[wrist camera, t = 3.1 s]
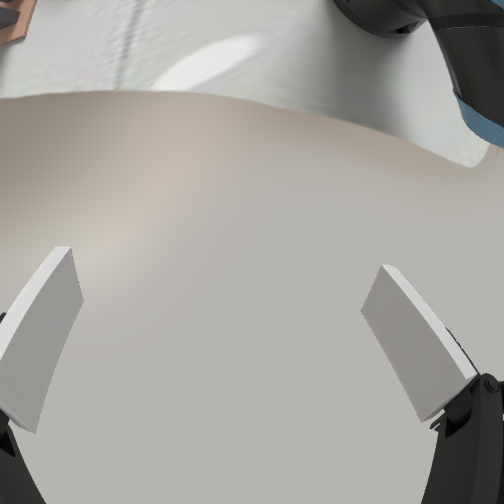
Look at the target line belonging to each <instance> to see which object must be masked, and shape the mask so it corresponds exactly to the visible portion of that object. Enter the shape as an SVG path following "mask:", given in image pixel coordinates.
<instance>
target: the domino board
mask: <svg viewBox="0 0 504 504" xmlns="http://www.w3.org/2000/svg"><path fill="white" fill-rule="evenodd" d="M36 2H37V0H13V1H11V2H9V3H4V2H0V7H3V8H7V9H11V10H15V11H19V12H21V13H20V16H19V19H18V22H17V23H15V24H13V25H10V26H8V27H5V28H3V29H1V30H0V45H3V44H5V43H8V42H10V41H13V40H16V39H18V38H21V37H24V36H26V35H27V31H28V27H29V24H30V20H31V17H32V14H33V11H34V8H35V5H36Z"/></svg>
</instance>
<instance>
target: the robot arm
mask: <svg viewBox="0 0 504 504" xmlns="http://www.w3.org/2000/svg"><path fill="white" fill-rule="evenodd" d="M334 2H335V3H336V5H337V6H338V7H339V9H340V10H341V11H342V12H343V13H344V14H345V15H346V16H347V17H348V18H349V19H350V20H351V21H352V22H354V23H355V24H356V25H358V26H359V27H361V28H362V29H364V30H366V31H368V32H370V33H372V34H375V35H378V36H381V37H388V38H394V37H400V36H405V35H408V34H410V33H412V32H414V31H415V30H416V29H418V28H419V27H420V26H421V25H422V24H423V23H425V22H426V21H427V20H428V21H429V23H430V25H431V27H432V30H433V32H434V34H435V37H436V39H437V42H438V44H439V46H440V49H441V52H442V54H443V57H444V60H445V62H446V65H447V68H448V71H449V74H450V77H451V81H452V84H453V92H454V95H455V97H456V98H457V101H458V104H459V108H460V111H461V115H462V118H463V120H464V122H465V124H466V125H467V126H468V127H469V128H470V129H471V130H472V131H473V132H474V133H475V134H476V135H477V136H479V137H480V138H482V139H484V140H485V141H487V142H489V143H491V144H494V145H496V146H499V147H502V148H504V0H334ZM479 26H489V27H479ZM457 27H462V28H457ZM447 28H449V29H447ZM439 29H440V30H439ZM83 302H84V300H83V297H82V293H81V289H80V285H79V281H78V278H77V273H76V269H75V265H74V260H73V256H72V250H71V247H60V246H56V247H55V248H54V249H53V250H52V252H51V253H50V254H49V255H48V257H47V258H46V259H45V260H44V262H43V263H42V264H41V265H40V267H39V268H38V269H37V271H36V272H35V273H34V275H33V276H32V277H31V279H30V280H29V281H28V283H27V284H26V286H25V287H24V288H23V290H22V292H21V293H20V294H19V296H18V297H17V299H16V300H15V301H14V303H13V305H12V306H11V308H10V309H9V311H8V312H7V313H2V314H1V315H0V504H46V503H45V501H44V499H43V498H42V496H41V494H40V492H39V491H38V489H37V487H36V485H35V483H34V481H33V479H32V477H31V475H30V473H29V471H28V469H27V467H26V465H25V462H24V460H23V457H22V455H21V453H20V451H19V448H18V445H17V443H16V440H15V437H14V435H13V432H12V430H11V428H10V426H9V425H8V422H9V419H11V420H12V421H13V422H14V423H15V424H16V425H17V426H18V427H20V428H23V429H25V430H27V431H29V432H32V433H34V434H35V433H36V429H37V425H38V422H39V418H40V414H41V410H42V407H43V403H44V400H45V397H46V394H47V391H48V388H49V385H50V382H51V379H52V376H53V373H54V370H55V368H56V365H57V362H58V359H59V357H60V354H61V352H62V349H63V347H64V344H65V342H66V339H67V337H68V335H69V332H70V330H71V328H72V325H73V323H74V321H75V319H76V316H77V314H78V312H79V310H80V308H81V306H82V304H83ZM361 312H362V314H363V316H364V317H365V319H366V320H367V322H368V324H369V326H370V327H371V329H372V331H373V333H374V334H375V336H376V338H377V340H378V341H379V343H380V345H381V347H382V349H383V350H384V352H385V354H386V356H387V357H388V359H389V361H390V363H391V365H392V367H393V368H394V370H395V372H396V374H397V376H398V378H399V380H400V381H401V383H402V385H403V387H404V389H405V391H406V393H407V395H408V397H409V399H410V401H411V402H412V405H413V407H414V409H415V411H416V413H417V415H418V417H419V419H420V421H421V422H423V421H426V420H428V419H430V418H432V417H434V416H435V415H436V414H438V413H439V412H440V411H441V410H442V409H444V411H445V413H443V414H442V415H441V416H440V417H439V418H438V419H437V420H435V421H434V422H433V423H432V424H431V426H430V429H432V428H434V427H435V426H436V425H437V424H439V423H440V425H438V426H437V427H436V428H435V431H438V432H439V433H438V439H437V444H436V450H435V454H434V459H433V463H432V467H431V471H430V475H429V479H428V482H427V486H426V489H425V493H424V496H423V499H422V502H421V504H504V421H503V414H504V381H500V382H498V381H497V380H496V379H495V377H494V376H492V375H490V374H487V373H485V374H482V376H481V375H480V373H479V372H478V371H477V369H476V368H475V366H474V365H473V363H472V362H471V360H470V359H469V357H468V356H467V354H466V353H465V351H464V350H463V349H461V346H460V344H459V343H458V342H456V339H455V338H454V336H453V335H452V333H451V332H450V331H449V330H448V329H447V328H446V327H444V326H443V324H442V323H441V322H440V320H439V319H438V318H437V316H436V315H435V314H434V313H433V312H432V310H431V309H430V308H429V306H428V305H427V304H426V303H425V302H424V300H423V299H422V298H421V297H420V295H419V294H418V293H417V292H416V291H415V289H414V288H413V287H412V286H411V285H410V284H409V282H408V281H407V280H406V279H405V278H404V277H403V275H402V274H401V273H400V272H399V271H398V270H397V269H396V268H395V266H394V265H381V267H380V269H379V271H378V274H377V276H376V279H375V281H374V283H373V285H372V288H371V290H370V292H369V294H368V297H367V299H366V301H365V303H364V305H363V307H362V309H361Z"/></svg>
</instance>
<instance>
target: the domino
mask: <svg viewBox="0 0 504 504" xmlns="http://www.w3.org/2000/svg"><path fill="white" fill-rule="evenodd" d="M20 13H21V12H19V11H15V10H11V9H7V8H3V7H0V30H1V29H3V28H5V27H8V26H10V25H13V24H15V23H17V22H18V19H19V16H20Z"/></svg>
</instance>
